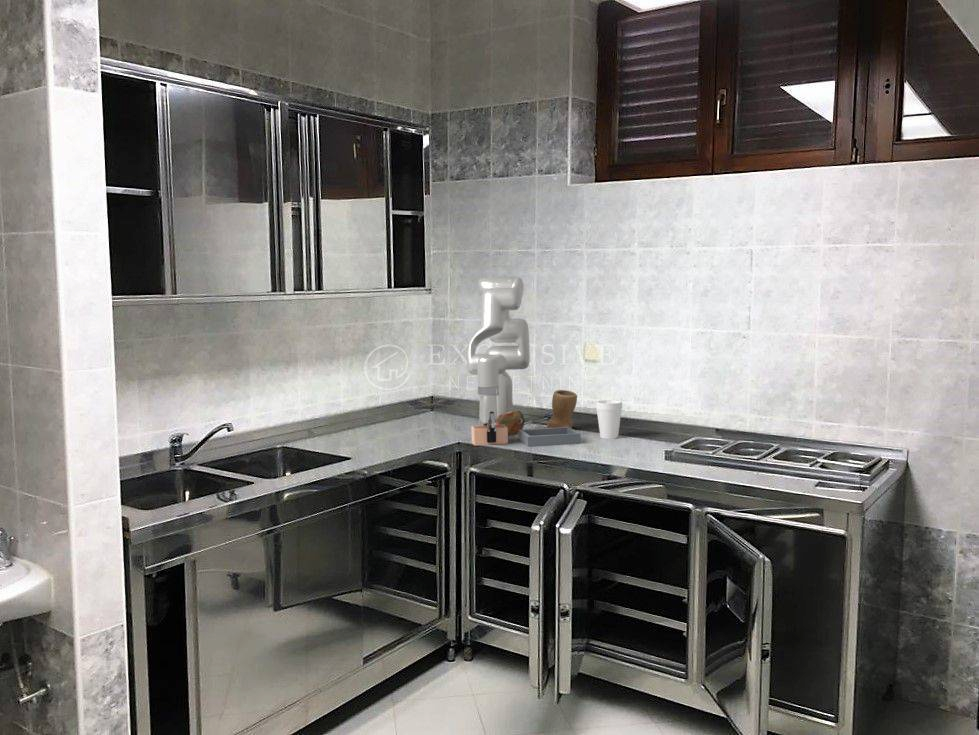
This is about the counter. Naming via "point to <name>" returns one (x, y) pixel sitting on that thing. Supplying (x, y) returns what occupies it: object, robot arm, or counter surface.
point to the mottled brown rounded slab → (511, 421)
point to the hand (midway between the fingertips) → (489, 440)
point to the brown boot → (562, 409)
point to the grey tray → (549, 436)
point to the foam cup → (609, 417)
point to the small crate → (481, 435)
